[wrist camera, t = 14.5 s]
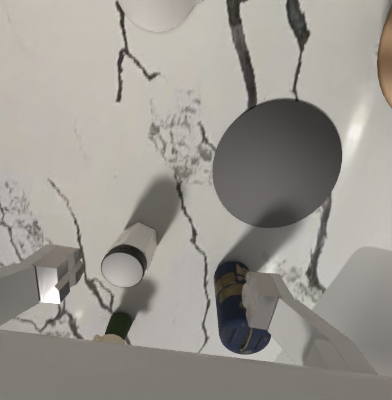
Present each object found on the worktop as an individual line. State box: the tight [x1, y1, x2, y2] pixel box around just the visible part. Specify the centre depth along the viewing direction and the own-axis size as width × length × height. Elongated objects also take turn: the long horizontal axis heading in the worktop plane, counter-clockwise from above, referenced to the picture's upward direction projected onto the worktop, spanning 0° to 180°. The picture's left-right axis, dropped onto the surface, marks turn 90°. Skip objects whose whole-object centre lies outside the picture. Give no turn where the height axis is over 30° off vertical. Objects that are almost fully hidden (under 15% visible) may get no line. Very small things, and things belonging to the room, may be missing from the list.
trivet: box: [213, 100, 342, 228], centre depth 42 cm, size 27×27×1 cm
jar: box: [101, 222, 157, 288], centre depth 42 cm, size 9×8×12 cm
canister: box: [214, 262, 271, 355], centre depth 42 cm, size 10×10×18 cm
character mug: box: [93, 314, 132, 344], centre depth 50 cm, size 11×7×13 cm, turn 28°
